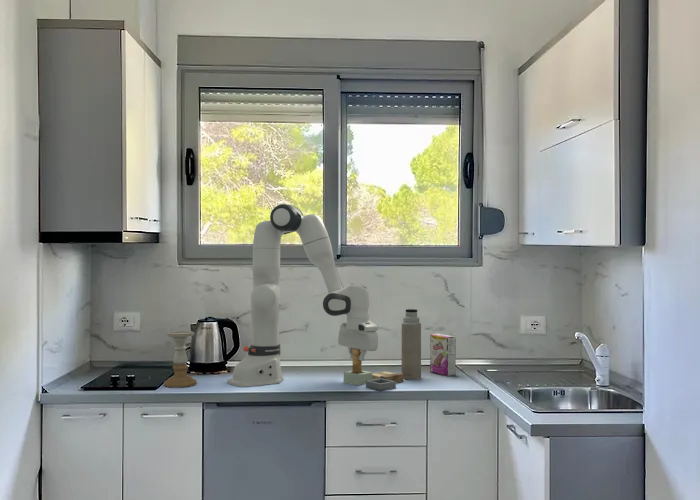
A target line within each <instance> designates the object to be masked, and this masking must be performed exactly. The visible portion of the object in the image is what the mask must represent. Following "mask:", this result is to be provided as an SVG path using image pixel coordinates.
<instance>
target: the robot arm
mask: <svg viewBox="0 0 700 500" xmlns="http://www.w3.org/2000/svg"><path fill="white" fill-rule="evenodd" d="M295 232H296V233H297V234H298V236H299V238H300V241H301V243H302V247H303V250H304V253H305V255H306V257H307V259H308V261H309V262H310V263H311V264H313V265H314V266H315V267H317V269H318V270H319V272H320V273H321V276H322V278H323V281H324V284H325V286H326V290H327V292H328V294H327V295H325V297H324V298H323V300H322V308H323V310H324V311H325V313H326V314H327V315H329V316H333V317H338V316H341V315H346V322H342V324H340V327H339V331H338V337H337V340H338V341H337V342H338V346H340V347H345V348H347V350H348V353H349V357H350V360H353V348H356V349H360V352H361V354H360V356H358V358H359V359H358V360H359V361H362V362H364V361H365V356H366V354H367V352H376V351H377V350H378V348H379V335H378V332H377V331H378V330H379V329H378V328H379V327H378V324H376V323H374V322H372V321H371V320H370V316H369V308H370V294H369V289H368V288H367V286H366V285H364V284H359V283H351V282H350V283H349V284H347V285H346V286H345V287H344V286H343V283H342V281H341V278H340V275H339V273H338V269H337V267H336V266H337V265H336V264H335V263H336V262H335V258H334V252H333V246H332V242H331V239H330V235H329V233H328V231H327V228H326V226H325V223H324V222H323V220H322V219H321V217H320V216H319V215H317V214H314V213H313V214H312V213H311V214H305V215H304V214H303V211H302V210H301V209H299V208H298V207H297V206H294V205H292V204H286V203H281V204H278V205H276V206H275V207H274V208H273V209H272V210H271V211H270V215H269V220H264V221H261V222H259V223H258V224H256V226H255V229H254V234H253V240H252V267H251V268H252V291H251V293H250V317H251V318H250V319H251V344H250V345H249V346H246V345H244V346H243V352H246V353H247V355H246V356H245V357H243V359H241V361H239V362H238V363H237V364H236V365H234V369H233V373H232V377H231V378H228V379H227V380H226V383H227V384H228V385H229V384H230V385H232V386H236V387H244V388H245V387H246V388H247V387H248V388H249V387H255V386H264V385H273V384H281V381H283V380H284V376H283V372H282V367H281V359H280V357H281V344H280V298H281V241H282V236H284V235H287V234H291V233H295Z"/></svg>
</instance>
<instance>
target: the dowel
mask: <svg viewBox="0 0 700 500" xmlns="http://www.w3.org/2000/svg"><path fill="white" fill-rule="evenodd" d="M360 354H361V352H360V349H356V348H353V359H352V369H351V371H352V373H356V374H360V373H362V369H363V367H362V366H363V365H362V362H363V361H359V360H358V359H359V358H358V356H360Z"/></svg>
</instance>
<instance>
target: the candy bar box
mask: <svg viewBox="0 0 700 500" xmlns="http://www.w3.org/2000/svg"><path fill="white" fill-rule="evenodd" d="M456 339H457V338H456V336H454V335H448V334H445V333H444V334H443V333H432V334H429V340H430V341H429V342H430V344H429V345H430V346H429V351H430V352H429V353H430V354H429V355H430V357H429V358H430V359H429V360H430V361H429V362H430V363H429V367H430V368H429V371H430V373H433V374H438V375H441V376H446V377H452V376H456V375H457V371H456V369H457V368H456V367H457V364H456V363H457V362H456V359H457V358H456V356H457V355H456V352H457V351H456V348H457V347H456V344H457V343H456Z"/></svg>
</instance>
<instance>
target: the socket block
mask: <svg viewBox="0 0 700 500" xmlns="http://www.w3.org/2000/svg"><path fill="white" fill-rule="evenodd" d="M372 374H373V372H372V371H367V370H362V373H360V374H356V373H352V370H349V371H344V372H343V383H344V384H345V383H346V384H350V385H354V386H362V385H366V381H369V380H372Z"/></svg>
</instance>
